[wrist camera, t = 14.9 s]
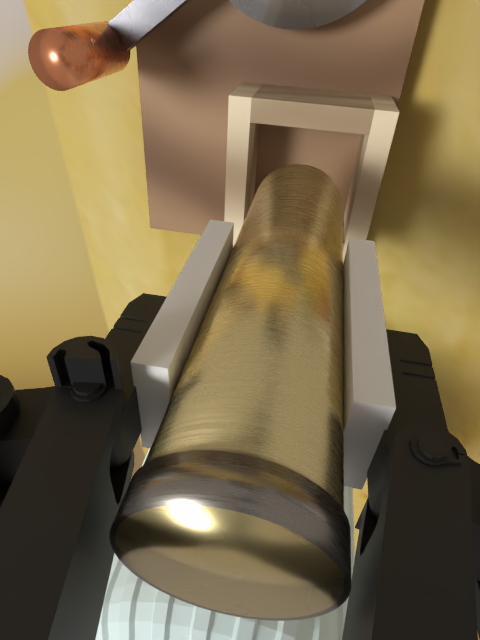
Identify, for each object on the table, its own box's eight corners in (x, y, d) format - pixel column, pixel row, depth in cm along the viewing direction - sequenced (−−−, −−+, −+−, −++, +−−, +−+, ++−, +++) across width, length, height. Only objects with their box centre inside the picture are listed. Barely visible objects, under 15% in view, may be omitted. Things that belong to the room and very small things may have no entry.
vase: (251, 413, 38) (177, 765, 21) (170, 320, 34) (-12, 675, 16) (375, 374, 33) (414, 800, 16) (300, 257, 28) (237, 683, 11)
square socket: (242, 81, 21) (228, 95, 19) (391, 96, 21) (399, 112, 18) (235, 218, 26) (223, 245, 23) (358, 233, 25) (360, 263, 22)
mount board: (125, -281, 16) (109, -302, 15) (489, -280, 15) (501, -304, 14) (158, 218, 28) (150, 227, 27) (358, 244, 27) (359, 256, 26)
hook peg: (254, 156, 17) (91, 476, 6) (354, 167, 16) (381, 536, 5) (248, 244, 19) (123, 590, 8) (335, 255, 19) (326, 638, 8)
